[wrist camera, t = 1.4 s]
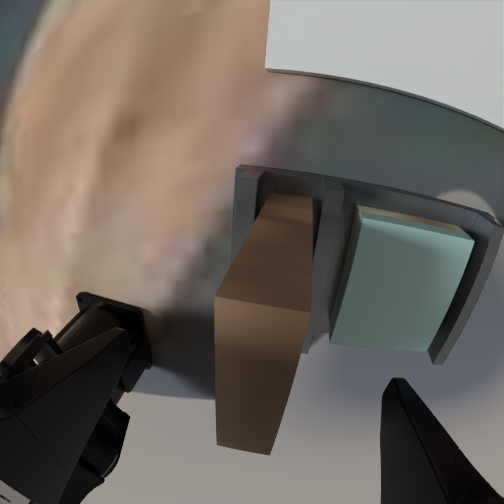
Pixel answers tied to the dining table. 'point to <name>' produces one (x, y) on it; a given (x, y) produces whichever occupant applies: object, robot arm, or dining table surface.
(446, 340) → the rack
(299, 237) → the brown flat block
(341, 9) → the board
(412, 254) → the offcut upper
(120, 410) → the robot arm
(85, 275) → the dining table surface
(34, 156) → the dining table surface
